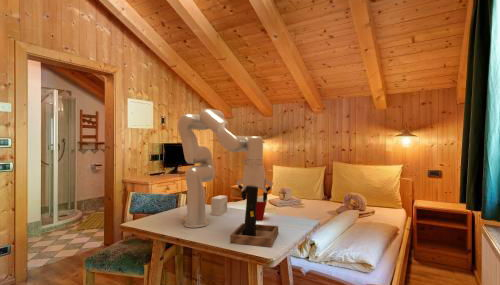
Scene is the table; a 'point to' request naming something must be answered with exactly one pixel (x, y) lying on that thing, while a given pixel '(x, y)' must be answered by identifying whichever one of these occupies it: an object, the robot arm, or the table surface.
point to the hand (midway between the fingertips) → (254, 200)
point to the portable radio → (250, 212)
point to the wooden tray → (262, 238)
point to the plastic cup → (260, 208)
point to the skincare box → (218, 205)
